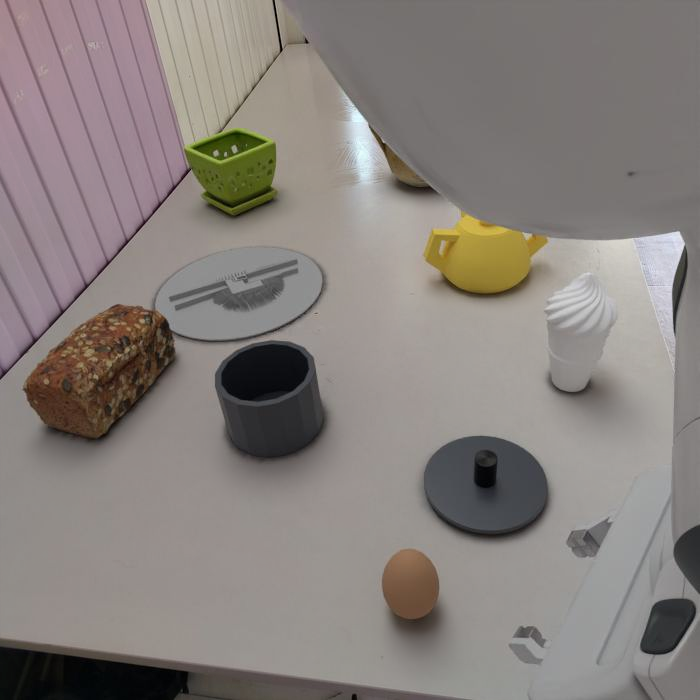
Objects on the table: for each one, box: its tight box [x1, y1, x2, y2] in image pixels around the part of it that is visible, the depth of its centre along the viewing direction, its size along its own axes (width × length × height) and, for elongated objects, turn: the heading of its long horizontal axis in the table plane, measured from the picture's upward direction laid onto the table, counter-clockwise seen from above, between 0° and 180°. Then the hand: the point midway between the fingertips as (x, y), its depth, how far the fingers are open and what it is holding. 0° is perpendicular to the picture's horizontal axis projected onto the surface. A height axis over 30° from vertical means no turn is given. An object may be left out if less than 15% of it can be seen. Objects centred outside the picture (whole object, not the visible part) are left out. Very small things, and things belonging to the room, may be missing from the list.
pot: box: [214, 339, 324, 458], centre depth 78 cm, size 12×12×8 cm
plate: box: [154, 246, 324, 342], centre depth 106 cm, size 28×28×1 cm
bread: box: [21, 303, 176, 439], centre depth 86 cm, size 19×11×10 cm, turn 158°
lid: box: [423, 435, 549, 535], centre depth 69 cm, size 13×13×5 cm
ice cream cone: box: [543, 271, 619, 393], centre depth 77 cm, size 8×8×16 cm
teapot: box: [422, 210, 549, 295], centre depth 102 cm, size 20×18×11 cm
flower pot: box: [183, 127, 278, 216], centre depth 130 cm, size 14×14×13 cm
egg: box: [381, 548, 440, 620], centre depth 57 cm, size 5×5×8 cm
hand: (548, 590), depth 45 cm, fingers open, 8 cm apart
